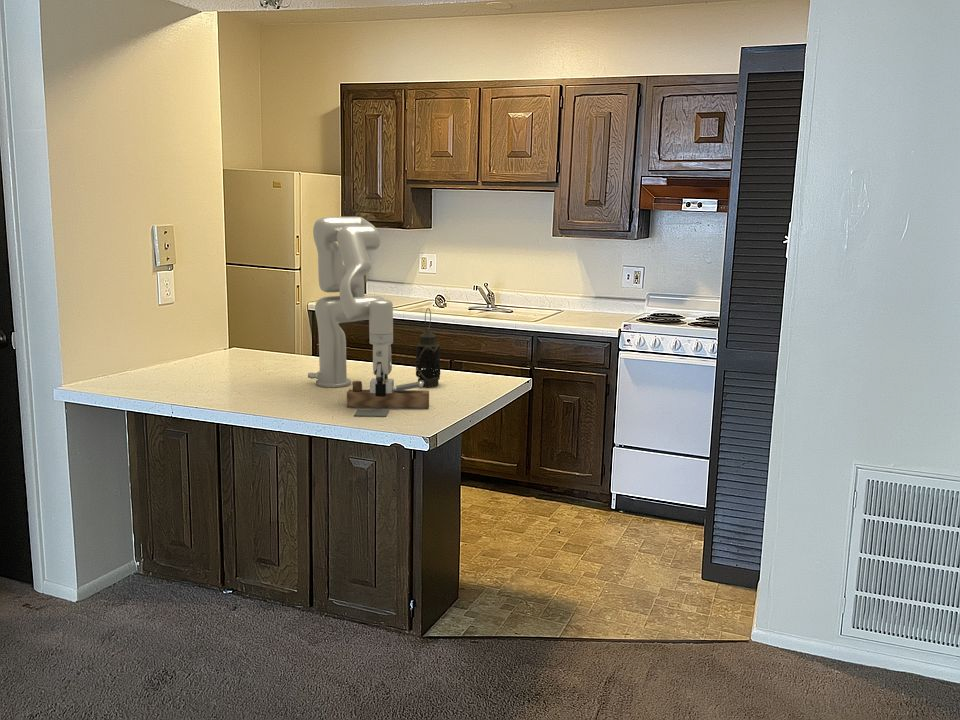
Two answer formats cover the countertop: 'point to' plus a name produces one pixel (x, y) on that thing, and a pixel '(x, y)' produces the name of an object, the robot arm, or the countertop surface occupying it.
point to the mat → (371, 413)
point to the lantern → (428, 359)
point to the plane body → (387, 398)
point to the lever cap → (388, 383)
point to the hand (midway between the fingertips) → (381, 393)
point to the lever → (409, 386)
